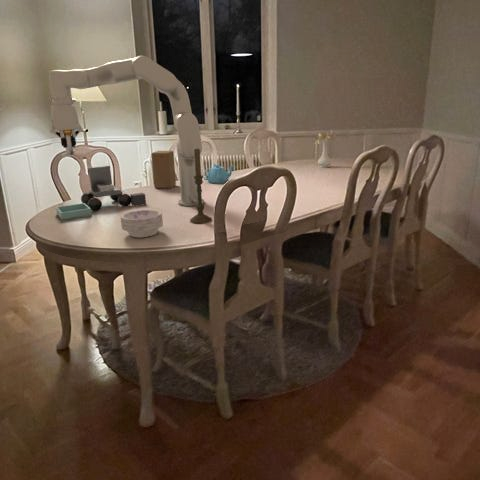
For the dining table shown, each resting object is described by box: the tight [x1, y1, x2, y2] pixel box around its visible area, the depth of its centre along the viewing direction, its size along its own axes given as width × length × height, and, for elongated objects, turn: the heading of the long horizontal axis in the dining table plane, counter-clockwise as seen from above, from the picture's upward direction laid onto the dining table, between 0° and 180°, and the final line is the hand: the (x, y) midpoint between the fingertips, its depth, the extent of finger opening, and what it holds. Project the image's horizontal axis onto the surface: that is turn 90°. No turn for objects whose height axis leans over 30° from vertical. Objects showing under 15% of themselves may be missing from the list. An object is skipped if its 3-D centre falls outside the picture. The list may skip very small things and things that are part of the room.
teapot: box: [203, 162, 235, 184], centre depth 254 cm, size 15×15×10 cm
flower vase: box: [311, 129, 338, 169], centre depth 291 cm, size 13×18×25 cm
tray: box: [55, 203, 93, 221], centre depth 190 cm, size 12×12×4 cm
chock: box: [129, 192, 147, 207], centre depth 207 cm, size 4×6×5 cm, turn 122°
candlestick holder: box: [189, 147, 213, 225], centre depth 173 cm, size 9×9×30 cm
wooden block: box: [150, 150, 177, 189], centre depth 242 cm, size 10×10×20 cm
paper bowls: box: [120, 209, 164, 239], centre depth 161 cm, size 15×15×8 cm
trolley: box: [80, 165, 132, 212], centre depth 203 cm, size 15×20×18 cm
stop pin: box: [63, 130, 75, 156], centre depth 183 cm, size 4×4×10 cm
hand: (69, 146), depth 183 cm, fingers closed on stop pin, 3 cm apart
